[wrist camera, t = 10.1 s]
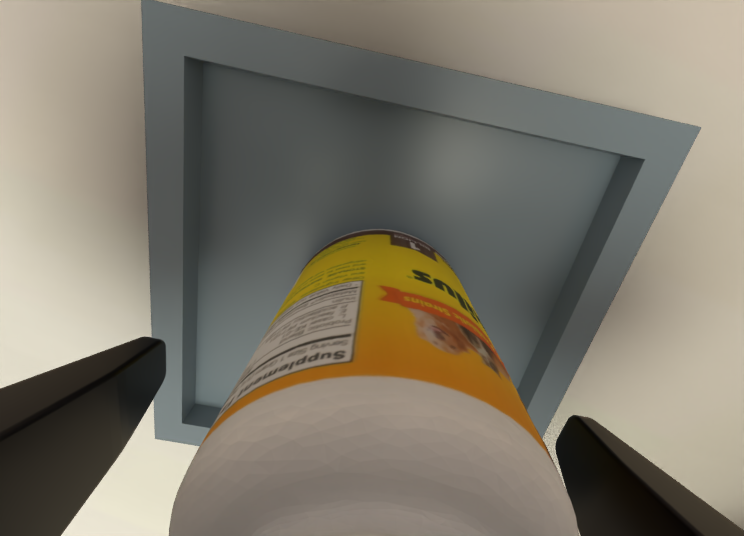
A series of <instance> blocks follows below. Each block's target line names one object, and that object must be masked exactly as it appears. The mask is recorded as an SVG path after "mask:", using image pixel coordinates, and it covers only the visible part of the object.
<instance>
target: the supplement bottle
mask: <svg viewBox="0 0 744 536" xmlns="http://www.w3.org/2000/svg"><path fill="white" fill-rule="evenodd" d="M169 536H579V533H578V527H577V521H576V515H575V512H574V509H573V506H572V503H571V500H570V498H569V496H568V493H567V491H566V489H565V487H564V485H563V482H562V480H561V477H560V475H559V473H558V471H557V468H556V466H555V464H554V462H553V460H552V458H551V456H550V454H549V452H548V449H547V447H546V445H545V443H544V442H543V440H542V438H541V436H540V435H539V433H538V431H537V429H536V427H535V426H534V424H533V422H532V420H531V418H530V416H529V414H528V412H527V409H526V407H525V405H524V403H523V402H522V400H521V398H520V396H519V394H518V392H517V390H516V388H515V387H514V385H513V383H512V380H511V378H510V376H509V374H508V372H507V370H506V368H505V366H504V363H503V362H502V361H501V359H500V357H499V355H498V353H497V352H496V350H495V348H494V346H493V344H492V342H491V340H490V338H489V337H488V334H487V332H486V330H485V328H484V326H483V325H482V323H481V321H480V319H479V317H478V315H477V313H476V312H475V310H474V308H473V306H472V304H471V302H470V300H469V298H468V296H467V294H466V292H465V290H464V288H463V286H462V284H461V282H460V280H459V279H458V277H457V275H456V273H455V272H454V270H453V269H452V267H451V266H450V264H449V263H448V262H447V260H446V259H445V258H444V257H443V256H442V255H441V254H440V253H439V252H438V251H437V250H435V249H434V248H433V247H432V246H430V245H429V244H427V243H426V242H424V241H422V240H420V239H418V238H416V237H414V236H412V235H409V234H406V233H403V232H400V231H395V230H389V229H368V230H361V231H356V232H353V233H349V234H346V235H344V236H341V237H339V238H337V239H335V240H333V241H332V242H330V243H328V244H327V245H325V246H324V247H323V248H321V249H320V250H319V251H318V252H317V253H316V254H315V255H314V256H313V257H312V258H311V259H310V260H309V262H308V263H307V264H306V266H305V267H304V268H303V269H302V271H301V273H300V275H299V277H298V279H297V280H296V282H295V284H294V285H293V287H292V289H291V291H290V292H289V294H288V296H287V297H286V299H285V301H284V302H283V304H282V306H281V308H280V309H279V311H278V313H277V314H276V316H275V318H274V319H273V321H272V323H271V325H270V327H269V328H268V330H267V332H266V333H265V335H264V337H263V338H262V340H261V342H260V344H259V346H258V347H257V349H256V351H255V353H254V354H253V356H252V358H251V359H250V361H249V363H248V365H247V366H246V368H245V370H244V371H243V373H242V375H241V377H240V378H239V380H238V382H237V383H236V385H235V387H234V389H233V390H232V392H231V394H230V395H229V397H228V399H227V401H226V402H225V404H224V406H223V407H222V409H221V411H220V413H219V415H218V417H217V418H216V420H215V422H214V423H213V425H212V427H211V428H210V430H209V432H208V433H207V435H206V437H205V439H204V440H203V442H202V444H201V446H200V447H199V449H198V451H197V453H196V455H195V456H194V458H193V460H192V462H191V464H190V466H189V468H188V470H187V472H186V474H185V476H184V479H183V481H182V483H181V485H180V487H179V490H178V492H177V495H176V498H175V501H174V505H173V509H172V515H171V521H170V527H169Z"/></svg>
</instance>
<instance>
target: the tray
mask: <svg viewBox="0 0 744 536" xmlns="http://www.w3.org/2000/svg"><path fill="white" fill-rule="evenodd" d="M141 8H142V40H143V72H144V104H145V136H146V167H147V199H148V231H149V263H150V295H151V327H152V338H156V339H161V340H163V341H164V342H165V344H166V376H165V379H164V381H163V383H162V385H161V387H160V389H159V390H158V392H157V394H156V395H155V397H154V422H155V439H160V440H166V441H172V442H178V443H184V444H189V445H195V446H201V444H202V442H203V440H204V439H205V437H206V435H207V433H208V432H209V430H210V428H211V427H212V425H213V423H214V422H215V420H216V418H217V417H218V415H219V413H220V411H221V409H222V407H223V406H224V404H225V402H226V401H227V399H228V397H229V395H230V394H231V392H232V390H233V389H234V387H235V385H236V383H237V382H238V380H239V378H240V377H241V375H242V373H243V371H244V370H245V368H246V366H247V365H248V363H249V361H250V359H251V358H252V356H253V354H254V353H255V351H256V349H257V347H258V346H259V344H260V342H261V340H262V338H263V337H264V335H265V333H266V332H267V330H268V328H269V327H270V325H271V323H272V321H273V319H274V318H275V316H276V314H277V313H278V311H279V309H280V308H281V306H282V304H283V302H284V301H285V299H286V297H287V296H288V294H289V292H290V291H291V289H292V287H293V285H294V284H295V282H296V280H297V279H298V277H299V275H300V273H301V271H302V269H303V268H304V267H305V266H306V264H307V263H308V262H309V260H310V259H311V258H312V257H313V256H314V255H315V254H316V253H317V252H318V251H319V250H320V249H321V248H323V247H324V246H325V245H327V244H328V243H330V242H332V241H333V240H335V239H337V238H339V237H341V236H344V235H346V234H349V233H353V232H356V231H361V230H368V229H389V230H395V231H400V232H403V233H406V234H409V235H412V236H414V237H416V238H418V239H420V240H422V241H424V242H426V243H427V244H429V245H430V246H432V247H433V248H434V249H435V250H437V251H438V252H439V253H440V254H441V255H442V256H443V257H444V258H445V259H446V260H447V262H448V263H449V264H450V266H451V267H452V269H453V270H454V272H455V273H456V275H457V277H458V279H459V280H460V282H461V284H462V286H463V288H464V290H465V292H466V294H467V296H468V298H469V300H470V302H471V304H472V306H473V308H474V310H475V312H476V313H477V315H478V317H479V319H480V321H481V323H482V325H483V326H484V328H485V330H486V332H487V334H488V337H489V338H490V340H491V342H492V344H493V346H494V348H495V350H496V352H497V353H498V355H499V357H500V359H501V361H502V362H503V363H504V366H505V368H506V370H507V372H508V374H509V376H510V378H511V380H512V383H513V385H514V387H515V388H516V390H517V392H518V394H519V396H520V398H521V400H522V402H523V403H524V405H525V407H526V409H527V412H528V414H529V416H530V418H531V420H532V422H533V424H534V426H535V427H536V429H537V431H538V433H539V435H540V436H541V438H543V436H544V434H545V432H546V430H547V428H548V426H549V424H550V422H551V420H552V418H553V416H554V414H555V412H556V410H557V408H558V406H559V404H560V402H561V400H562V398H563V397H564V395H565V393H566V391H567V389H568V387H569V385H570V383H571V381H572V379H573V377H574V375H575V373H576V371H577V369H578V367H579V365H580V363H581V361H582V359H583V357H584V356H585V354H586V352H587V350H588V348H589V346H590V344H591V342H592V340H593V338H594V336H595V334H596V332H597V330H598V328H599V326H600V324H601V322H602V320H603V318H604V316H605V315H606V313H607V311H608V309H609V307H610V305H611V303H612V301H613V299H614V297H615V295H616V293H617V291H618V289H619V287H620V285H621V283H622V281H623V279H624V277H625V276H626V274H627V272H628V270H629V268H630V266H631V264H632V262H633V260H634V258H635V256H636V254H637V252H638V250H639V248H640V246H641V244H642V242H643V240H644V238H645V236H646V235H647V233H648V231H649V229H650V227H651V225H652V223H653V221H654V219H655V217H656V215H657V213H658V211H659V209H660V207H661V205H662V203H663V201H664V199H665V197H666V195H667V194H668V192H669V190H670V188H671V186H672V184H673V182H674V180H675V178H676V176H677V174H678V172H679V170H680V168H681V166H682V164H683V162H684V160H685V158H686V156H687V154H688V153H689V151H690V149H691V147H692V145H693V143H694V141H695V139H696V137H697V135H698V133H699V131H700V129H701V127H698V126H693V125H689V124H685V123H680V122H676V121H672V120H667V119H663V118H659V117H655V116H650V115H646V114H642V113H637V112H633V111H629V110H624V109H620V108H616V107H611V106H607V105H603V104H598V103H594V102H590V101H585V100H581V99H577V98H573V97H568V96H564V95H560V94H555V93H551V92H547V91H542V90H538V89H534V88H529V87H525V86H521V85H516V84H512V83H508V82H503V81H499V80H495V79H491V78H486V77H482V76H478V75H473V74H469V73H465V72H460V71H456V70H452V69H447V68H443V67H439V66H434V65H430V64H426V63H422V62H417V61H413V60H409V59H404V58H400V57H396V56H391V55H387V54H383V53H378V52H374V51H370V50H365V49H361V48H357V47H352V46H348V45H344V44H340V43H335V42H331V41H327V40H322V39H318V38H314V37H309V36H305V35H301V34H296V33H292V32H288V31H283V30H279V29H275V28H270V27H266V26H262V25H258V24H253V23H249V22H245V21H240V20H236V19H232V18H227V17H223V16H219V15H214V14H210V13H206V12H201V11H197V10H193V9H189V8H184V7H180V6H176V5H171V4H167V3H163V2H158V1H154V0H141Z"/></svg>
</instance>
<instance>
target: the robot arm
mask: <svg viewBox="0 0 744 536" xmlns="http://www.w3.org/2000/svg"><path fill="white" fill-rule="evenodd" d="M165 376H166V344H165V342H164V341H163V340H161V339H156V338H151V337H141V338H138V339H135V340H132V341H130V342H127V343H124V344H121V345H119V346H116V347H113V348H111V349H108V350H105V351H102V352H100V353H97V354H94V355H91V356H89V357H86V358H83V359H80V360H78V361H75V362H72V363H69V364H67V365H64V366H61V367H58V368H56V369H53V370H50V371H47V372H45V373H42V374H39V375H36V376H34V377H31V378H28V379H26V380H23V381H20V382H17V383H15V384H12V385H9V386H6V387H4V388H1V389H0V536H61V535H62V533H63V532H64V530H65V529H66V528H67V526H68V525H69V524H70V522H71V521H72V520H73V518H74V517H75V515H76V514H77V513H78V511H79V510H80V509H81V507H82V506H83V504H84V503H85V502H86V500H87V499H88V498H89V496H90V495H91V494H92V492H93V491H94V489H95V488H96V487H97V485H98V484H99V483H100V481H101V480H102V478H103V477H104V476H105V474H106V473H107V472H108V470H109V469H110V468H111V466H112V465H113V463H114V462H115V461H116V459H117V458H118V456H119V455H120V453H121V452H122V451H123V449H124V447H125V446H126V444H127V443H128V441H129V439H130V438H131V436H132V434H133V433H134V431H135V429H136V428H137V426H138V424H139V422H140V421H141V419H142V417H143V416H144V414H145V412H146V411H147V409H148V407H149V406H150V404H151V402H152V400H153V399H154V397H155V395H156V394H157V392H158V390H159V389H160V387H161V385H162V383H163V381H164V379H165ZM556 454H557V458H558V461H559V465H560V469H561V472H562V476H563V479H564V483H565V486H566V490H567V493H568V496H569V498H570V500H571V503H572V506H573V509H574V512H575V515H576V521H577V527H578V530H579V533H580V535H581V536H744V530H742V529H741V528H740V527H738V526H737V525H735V524H734V523H733V522H731V521H730V520H729V519H727V518H726V517H725V516H723V515H722V514H721V513H719V512H718V511H717V510H715V509H714V508H712V507H711V506H710V505H708V504H707V503H706V502H704V501H703V500H702V499H700V498H699V497H698V496H696V495H695V494H694V493H692V492H691V491H690V490H688V489H687V488H685V487H684V486H683V485H681V484H680V483H679V482H677V481H676V480H675V479H673V478H672V477H671V476H669V475H668V474H667V473H665V472H664V471H662V470H661V469H660V468H658V467H657V466H656V465H654V464H653V463H652V462H650V461H649V460H648V459H646V458H645V457H644V456H642V455H641V454H639V453H638V452H637V451H635V450H634V449H633V448H631V447H630V446H629V445H627V444H626V443H625V442H623V441H622V440H621V439H619V438H618V437H617V436H615V435H614V434H612V433H611V432H610V431H608V430H607V429H606V428H604V427H603V426H602V425H600V424H599V423H598V422H596V421H595V420H593V419H591V418H588V417H583V416H578V415H573V416H571V417H569V419H568V420H567V422H566V424H565V426H564V428H563V429H562V431H561V433H560V435H559V437H558V439H557V441H556Z"/></svg>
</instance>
